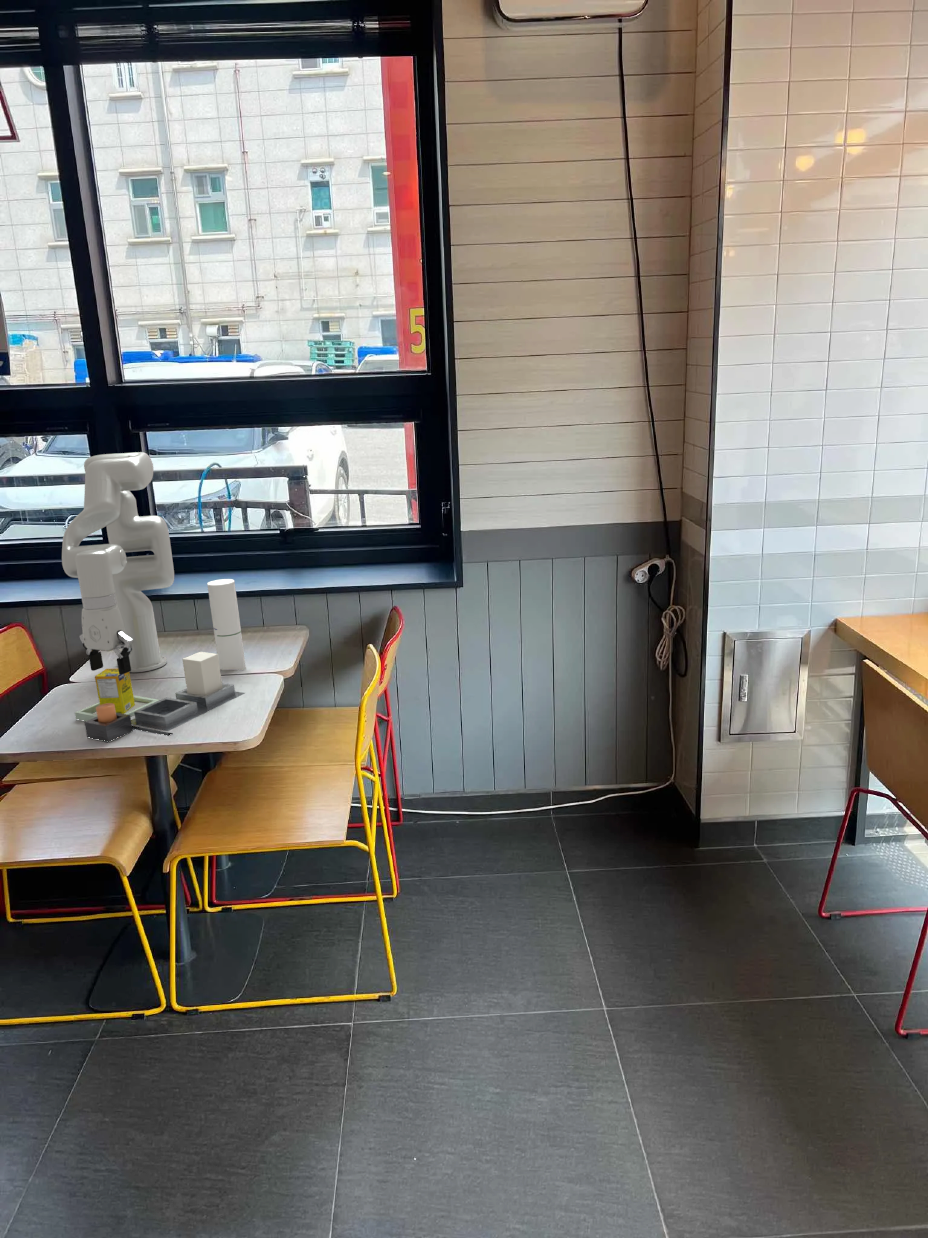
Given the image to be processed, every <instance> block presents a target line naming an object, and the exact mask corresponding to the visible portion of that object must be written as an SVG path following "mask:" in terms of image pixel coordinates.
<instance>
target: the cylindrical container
mask: <svg viewBox="0 0 928 1238" xmlns="http://www.w3.org/2000/svg"><path fill="white" fill-rule="evenodd" d="M206 585H207V591H208V599H209V605H210V613H211V620H212V626H213V634H214V640H215V641H214V642H215V647H216V650H215V651H216V654H218V658H219V665H220V670H222V671H233V670H234V671H240V672H243V671H245V670H246V668H247V666H246V660H245V659H246V658H245V651H244V644H243V637H242V629H241V620H240V613H239V607H238V598H237V597H238V596H237V592H236V591H237V590H236V584H235V580H234V579H232V578H221V579H216V580H215V579H214V580H211V581H208V582H207V584H206Z"/></svg>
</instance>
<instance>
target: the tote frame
mask: <svg viewBox="0 0 928 1238" xmlns="http://www.w3.org/2000/svg"><path fill="white" fill-rule="evenodd" d="M133 696H134V702H142V703H146V704H143V705H142V706H139V707H137V708H135V709H132V710H129V711H127V712H126V713H124V714H126V715H130V718H131V717H133V716H135V714H134V712H135V711H137V710H139V709H141V708H144V707H146V706H148V705H150V704H153V703H155V702H157V701H159V700H160V699H157V698H151V697H146V696H139V695H134V694H133ZM99 705H100V702H99V701H98V702H97V703H94V704H91V705H89V706H87V707H84V708H82V709H79V710H77V711H75V712H74V716H75V720H76V719H79V720H84V721H88V720H90V719H93V718H95V717H97V711H96V707H97V706H99Z"/></svg>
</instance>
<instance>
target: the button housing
mask: <svg viewBox="0 0 928 1238" xmlns="http://www.w3.org/2000/svg"><path fill="white" fill-rule="evenodd" d="M116 716H117V719H115V720H113V721H111V722H109V723H101V722H98V717H95V718H93V719H90V720H88V721H86V722H83V723H84V726H85V727H84V728H85V733H86V737H90V738H93V739H99V740H103V741H104V740H105V741H108V742H109V741H111V740H113V739H115V740H117V739H118V738H117V737H119V738H121V737H120V736H122V737H124V736H125V735H124V734H126V735H128V734H130V733H132V732H134V731H133V730H134V729H132V726H133V725H132V724H131V720H132V719H131V717H130V715H126V714H125V713H124V714H121V713H116ZM131 731H132V732H131ZM127 733H128V734H127ZM123 735H124V736H123ZM116 738H117V739H116ZM93 739H92V740H93ZM103 741H102V742H103ZM113 741H114V740H113ZM108 742H107V743H108ZM111 742H112V741H111ZM109 743H110V742H109Z"/></svg>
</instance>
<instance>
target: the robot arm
mask: <svg viewBox="0 0 928 1238" xmlns="http://www.w3.org/2000/svg"><path fill="white" fill-rule="evenodd" d="M83 469H84V472H85V474H84V476H85V478H84V501H83V510H82V511H81V512H79V514H77V515H76V516H75V517H74V518H73V520H71V522H70V523H69V524H68V525H67V528H66V529H65V531H64V533H63V537H62V545H61V546H62V548H61V565H62V568H63V570H64V573H65V574H66V575H67V576H68V577H70V578H76V579H78V583H79V584H78V585H79V590H80V595H81V602H82V608H81V628H82V629H81V630H82V633H81V634H79V639H80V642H81V643H82V646H83V648H84V649H85V653H86V655H88V660H89V661H88V662H89V666H90V670H91V672H95V671H97V670H100V669H102V668H103V667H104V663H103V656H102V652H112V651H113V652H114V653H115V655H117V658H116V663H117V668H118V671H119V674H121V675H122V674H125V673H127V672H129V673H142V672H148V671H154V670H156V669H159V668H161V667H164V666H165V665H166V664H167V663H168V660H167V657H166V656H164V655H161V652H160V645H159V639H158V632H157V626H156V620H155V613H154V607H153V603H152V602H151V600H150V598H148V596H146V594H145V593H144V592H142V591H149V590H159V589H166V588H170V587H171V586H173V584H174V582H175V570H174V569H175V568H174V562H173V554H172V546H171V539H170V538H171V537H170V534H169V532H170V531H169V528H168V525H167V522H166V521H165V519H164V518H163V517H161V516H160V515H143V516H141V515H140V516H139V513H138V507H137V499H136V497H135V496H134V494H133V493H132V492H131V491H140V490H144V489H145V488H146V487H147V486H148V485H149V484H150V483H151V482H152V480H153V477H154V463H153V461H152V458H151V457H150V455H148V453H146V452H143V451H140V452H139V451H138V452H136V451H135V452H124V453H123V452H122V453H121V452H120V453H106V454H105V453H103V454H97V455H93V456H89V457H88V458H86V459H85V461H84V463H83ZM105 527H106V532H107V533H106V534H107V538H108V543H103V544H92V545H91V544H90V545H80V544H81V542H83V540H84V539H86V538H87V537H88V536H90V535H91V534H93V533H95V532H97V531H99V530H101V529H103V528H105ZM145 551H151V552H153V554H149V555H138V556H137V555H136V556H127V555H126V553H133V552H145Z"/></svg>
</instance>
